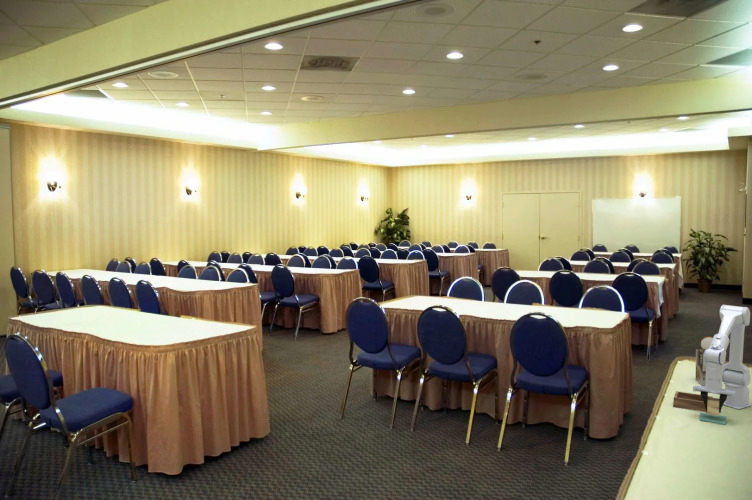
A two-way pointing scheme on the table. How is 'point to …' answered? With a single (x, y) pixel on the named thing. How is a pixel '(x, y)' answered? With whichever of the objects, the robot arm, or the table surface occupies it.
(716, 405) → the maple block
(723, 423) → the teal mat
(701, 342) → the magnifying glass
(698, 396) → the walnut crate
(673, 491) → the table surface
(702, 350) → the coffee box
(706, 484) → the table surface
